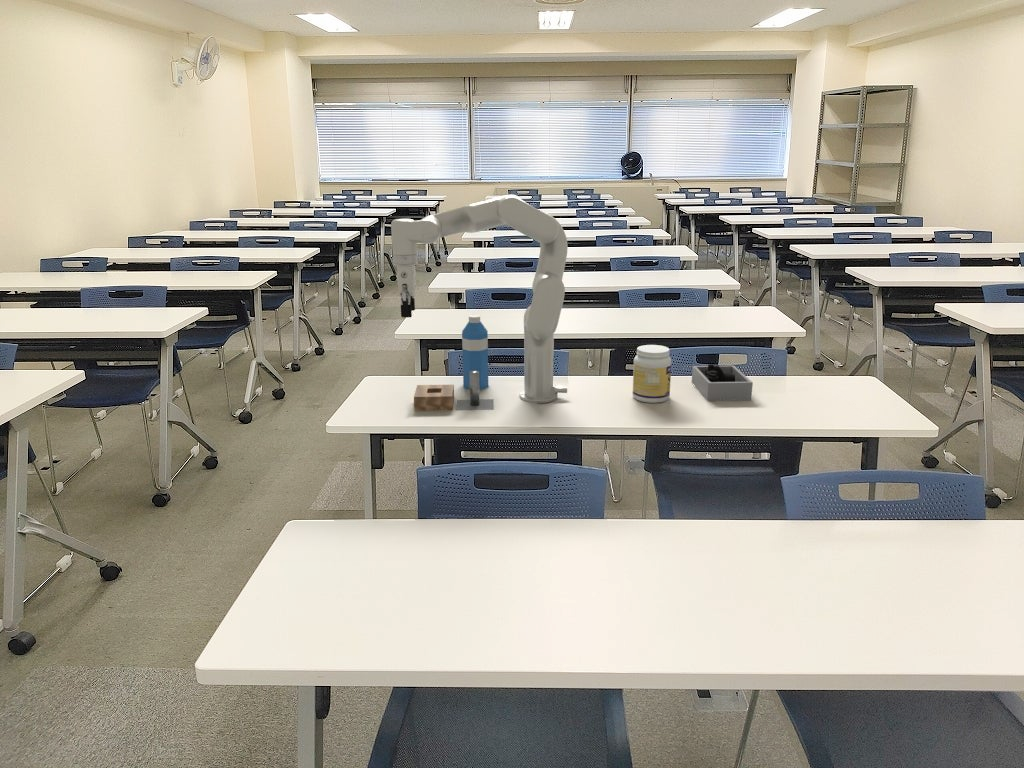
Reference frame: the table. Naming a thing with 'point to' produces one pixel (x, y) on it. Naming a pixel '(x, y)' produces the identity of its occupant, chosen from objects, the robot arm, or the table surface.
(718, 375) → the film camera
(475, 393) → the peg
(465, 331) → the water bottle
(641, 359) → the supplement tub
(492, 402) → the mat
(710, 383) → the tray
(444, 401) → the socket block
